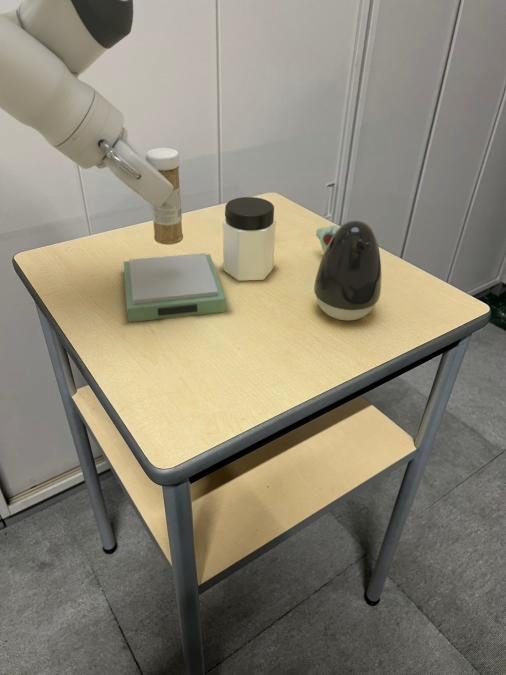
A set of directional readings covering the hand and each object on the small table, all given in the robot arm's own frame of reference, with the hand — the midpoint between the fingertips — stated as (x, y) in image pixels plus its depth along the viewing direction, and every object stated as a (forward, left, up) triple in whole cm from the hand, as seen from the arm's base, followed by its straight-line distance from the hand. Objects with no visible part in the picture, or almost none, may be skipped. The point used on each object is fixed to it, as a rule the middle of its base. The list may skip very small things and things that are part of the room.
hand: (169, 194), depth 76 cm
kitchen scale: (-1, 0, -17) cm, 17 cm away
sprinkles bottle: (-1, 0, -7) cm, 7 cm away
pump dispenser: (+25, -11, -17) cm, 33 cm away
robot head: (+29, +6, -17) cm, 34 cm away
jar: (+13, +5, -17) cm, 22 cm away
